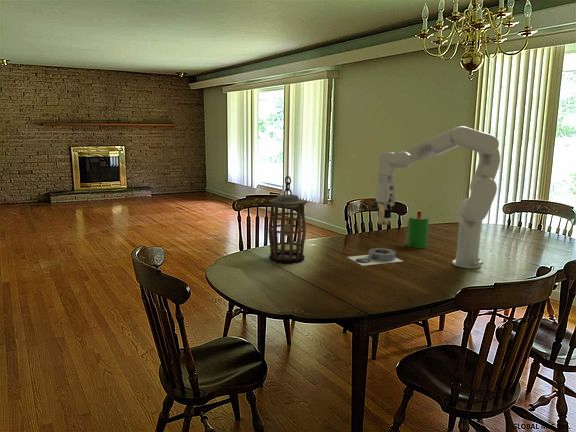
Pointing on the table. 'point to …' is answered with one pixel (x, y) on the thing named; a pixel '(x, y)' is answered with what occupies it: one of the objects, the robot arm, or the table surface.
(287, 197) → the lantern
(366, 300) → the table surface
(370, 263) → the base plate
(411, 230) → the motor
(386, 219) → the brass round-ended cylinder
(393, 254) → the ring
